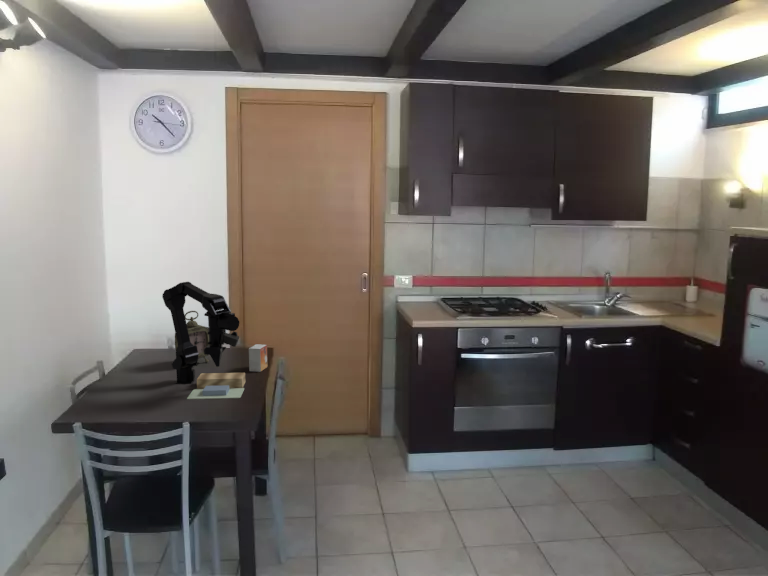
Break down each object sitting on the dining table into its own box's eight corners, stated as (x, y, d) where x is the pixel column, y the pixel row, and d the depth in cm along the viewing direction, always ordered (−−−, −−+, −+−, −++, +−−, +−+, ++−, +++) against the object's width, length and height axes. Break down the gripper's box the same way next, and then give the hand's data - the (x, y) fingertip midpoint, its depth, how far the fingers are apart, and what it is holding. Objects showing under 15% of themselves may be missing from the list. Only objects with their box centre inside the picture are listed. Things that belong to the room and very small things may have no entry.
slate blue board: (206, 385, 233) (206, 390, 233) (202, 390, 227) (202, 395, 227) (229, 385, 234) (229, 390, 234) (226, 390, 228) (226, 395, 228)
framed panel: (197, 388, 236) (196, 379, 235) (201, 382, 244) (201, 373, 243) (242, 388, 237) (242, 378, 237) (245, 381, 245) (245, 372, 245)
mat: (186, 399, 224) (186, 398, 224) (193, 389, 235) (193, 389, 235) (240, 398, 226) (240, 397, 226) (244, 388, 237) (244, 388, 237)
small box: (260, 372, 259) (260, 349, 257) (249, 371, 260) (248, 348, 258) (267, 367, 267) (267, 344, 265) (256, 366, 268) (255, 343, 266)
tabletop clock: (184, 369, 262) (181, 314, 259) (173, 365, 268) (170, 311, 264) (212, 362, 273) (210, 309, 269) (201, 359, 279) (199, 307, 275)
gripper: (232, 332, 222) (234, 372, 224) (240, 322, 240) (242, 359, 242) (202, 333, 221) (204, 373, 223) (213, 322, 239) (214, 360, 242)
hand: (217, 366), depth 233 cm, fingers closed
